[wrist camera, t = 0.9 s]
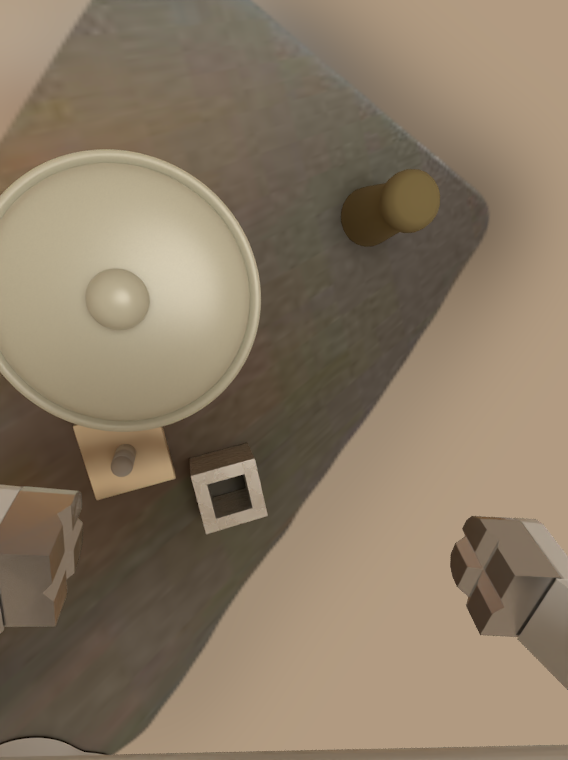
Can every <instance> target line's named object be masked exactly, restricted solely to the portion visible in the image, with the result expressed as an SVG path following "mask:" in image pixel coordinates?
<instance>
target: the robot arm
mask: <svg viewBox="0 0 568 760" xmlns="http://www.w3.org/2000/svg"><path fill="white" fill-rule="evenodd" d="M81 508H82V495H81V493H80V492H79V491H73V490H62V489H50V488H39V487H27V486H25V487H19V486H9V485H0V633H1V632H2V631H4V627H56V624H57V621H58V618H59V615H60V613H61V610H62V607H63V604H64V601H65V599H66V596H67V579H68V578H69V577H70V576H71V575H73V574H74V573H75V570H76V567H77V564H78V561H79V557H80V552H81V548H82V541H83V523H82V522H81V521H80V520H79V519H78V516H79V514H80V511H81ZM463 531H464V534H465V537H464V538H462V539H461V540H459V541H458V542H456V543H455V546H454V548H453V550H452V552H451V563H450V567H451V572H452V576H453V579H454V581H455V583H456V585H457V587H458V588H459V589H460V590H461V591H462V592H464V593H465V594H466V595H467V596H468V601H467V604H466V606H467V608H468V611H469V613H470V615H471V617H472V619H473V621H474V623H475V625H476V627H477V629H478V631H479V633H480V635H492V636H510V637H518V640H519V641H520V642H521V643H522V644H523V645H524V646H525V647H526V648H527V649H528V650H529V651H530V652H531V653H532V654H533V655H534V656H535V657H536V658H537V659H538V660H539V661H540V662H541V663H542V664H543V665H544V666H545V667H546V668H547V669H548V671H549V672H550V673H551V674H552V675H553V676H555V677H556V679H557V680H558V681H559V682H561V684H562V685H563V686H564V687H565V688H567V690H568V557H567V555H566V554H565V552H564V551H563V550H562V548H561V547H560V546H559V544H558V543H557V542H556V541H555V539H554V538H553V537H552V535H551V534H550V533H549V531H548V530H547V529H546V527H545V526H544V525H543V524H542V523H541V522H539V521H538V520H536V519H524V518H513V519H512V518H501V517H481V516H471V517H470V518H469V519H468V520H466V522H465V525H464V526H463ZM0 760H568V745H536V746H535V745H534V746H489V747H443V748H399V749H398V748H395V749H352V750H351V749H347V750H304V751H303V750H301V751H256V752H215V753H214V752H213V753H167V754H128V755H127V754H126V755H125V754H124V755H103V754H98V753H88V752H83V751H80V750H78V749H76V748H74V747H72V746H71V745H69V744H66V743H64V742H61V741H57V740H53V739H47V738H25V739H19V740H14V741H10V742H7V743H4V744H1V745H0Z"/></svg>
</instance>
